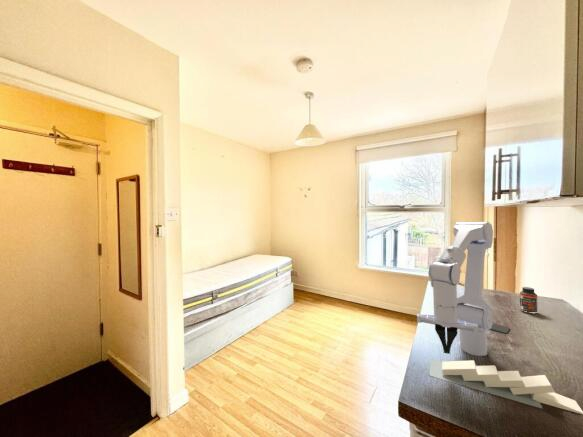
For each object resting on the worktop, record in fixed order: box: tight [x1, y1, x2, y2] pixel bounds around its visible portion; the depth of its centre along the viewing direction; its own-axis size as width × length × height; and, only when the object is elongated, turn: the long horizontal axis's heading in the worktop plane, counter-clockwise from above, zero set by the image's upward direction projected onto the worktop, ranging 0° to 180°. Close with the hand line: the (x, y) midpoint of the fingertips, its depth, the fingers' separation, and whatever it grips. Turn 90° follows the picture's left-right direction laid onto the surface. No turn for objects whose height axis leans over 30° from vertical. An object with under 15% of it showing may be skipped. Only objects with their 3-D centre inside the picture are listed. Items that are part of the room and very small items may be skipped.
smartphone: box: [488, 323, 511, 335], centre depth 99 cm, size 7×1×15 cm
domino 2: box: [484, 370, 525, 387], centre depth 61 cm, size 4×2×8 cm
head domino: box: [441, 359, 478, 375], centre depth 66 cm, size 4×2×8 cm
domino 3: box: [510, 374, 556, 395], centre depth 58 cm, size 4×2×8 cm
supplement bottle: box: [519, 286, 539, 312], centre depth 112 cm, size 6×6×11 cm
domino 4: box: [530, 392, 583, 415], centre depth 56 cm, size 4×2×8 cm
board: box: [429, 359, 544, 410], centre depth 64 cm, size 9×22×1 cm, turn 57°
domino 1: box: [462, 365, 501, 381], centre depth 64 cm, size 4×2×8 cm
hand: (446, 351), depth 68 cm, fingers closed
